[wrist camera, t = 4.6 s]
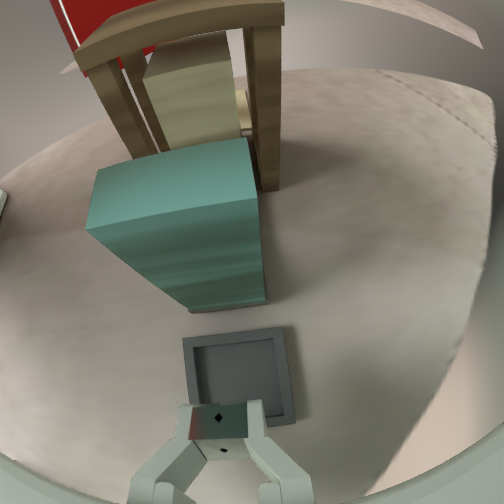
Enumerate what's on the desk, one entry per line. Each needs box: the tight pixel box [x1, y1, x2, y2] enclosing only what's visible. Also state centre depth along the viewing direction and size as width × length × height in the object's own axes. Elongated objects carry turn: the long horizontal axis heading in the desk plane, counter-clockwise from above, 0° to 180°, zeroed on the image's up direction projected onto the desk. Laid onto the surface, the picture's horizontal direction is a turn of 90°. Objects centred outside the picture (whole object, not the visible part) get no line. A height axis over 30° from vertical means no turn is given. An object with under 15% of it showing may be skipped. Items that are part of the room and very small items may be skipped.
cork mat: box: [235, 89, 252, 130], centre depth 24 cm, size 7×7×1 cm
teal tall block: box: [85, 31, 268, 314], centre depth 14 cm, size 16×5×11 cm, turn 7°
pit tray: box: [182, 326, 296, 427], centre depth 15 cm, size 6×6×1 cm
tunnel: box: [73, 0, 284, 192], centre depth 15 cm, size 6×9×14 cm
